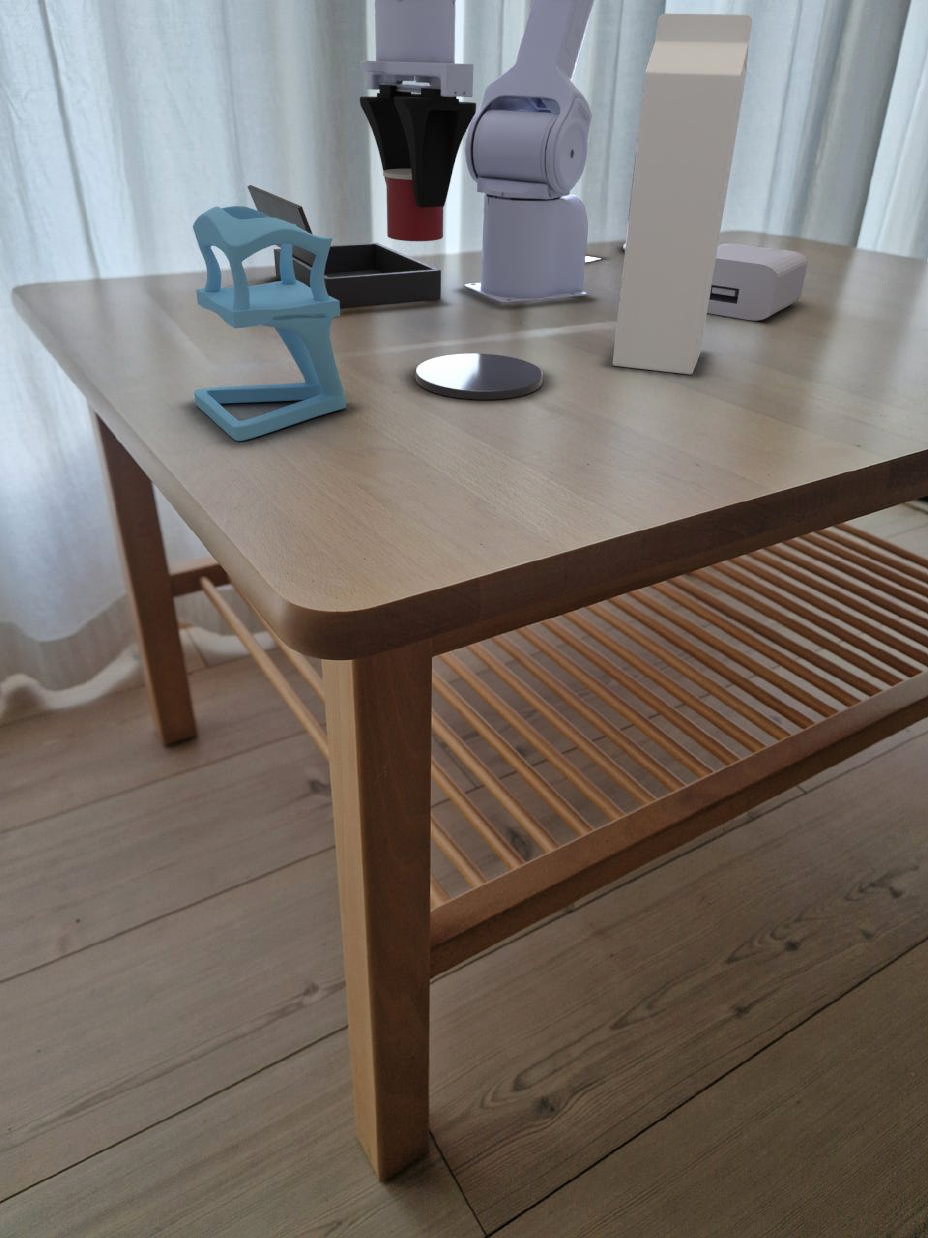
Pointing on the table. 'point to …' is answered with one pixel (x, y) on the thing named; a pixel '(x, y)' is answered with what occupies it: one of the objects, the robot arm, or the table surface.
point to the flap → (283, 216)
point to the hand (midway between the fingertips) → (415, 201)
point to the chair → (270, 317)
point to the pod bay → (371, 276)
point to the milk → (680, 188)
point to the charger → (755, 281)
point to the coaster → (479, 376)
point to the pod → (409, 210)
